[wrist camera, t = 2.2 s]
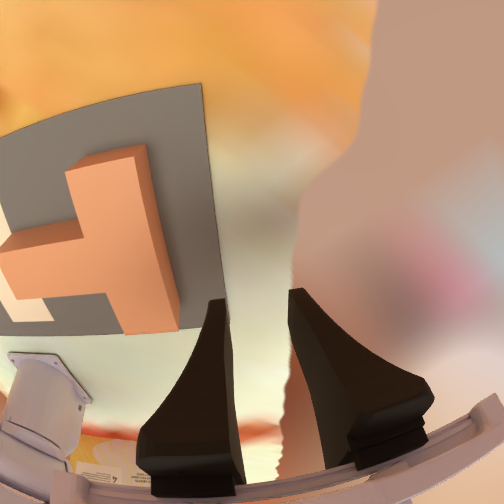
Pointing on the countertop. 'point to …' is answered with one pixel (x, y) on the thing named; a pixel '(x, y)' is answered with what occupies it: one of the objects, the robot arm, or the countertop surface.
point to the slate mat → (62, 209)
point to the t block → (102, 245)
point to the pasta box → (108, 461)
